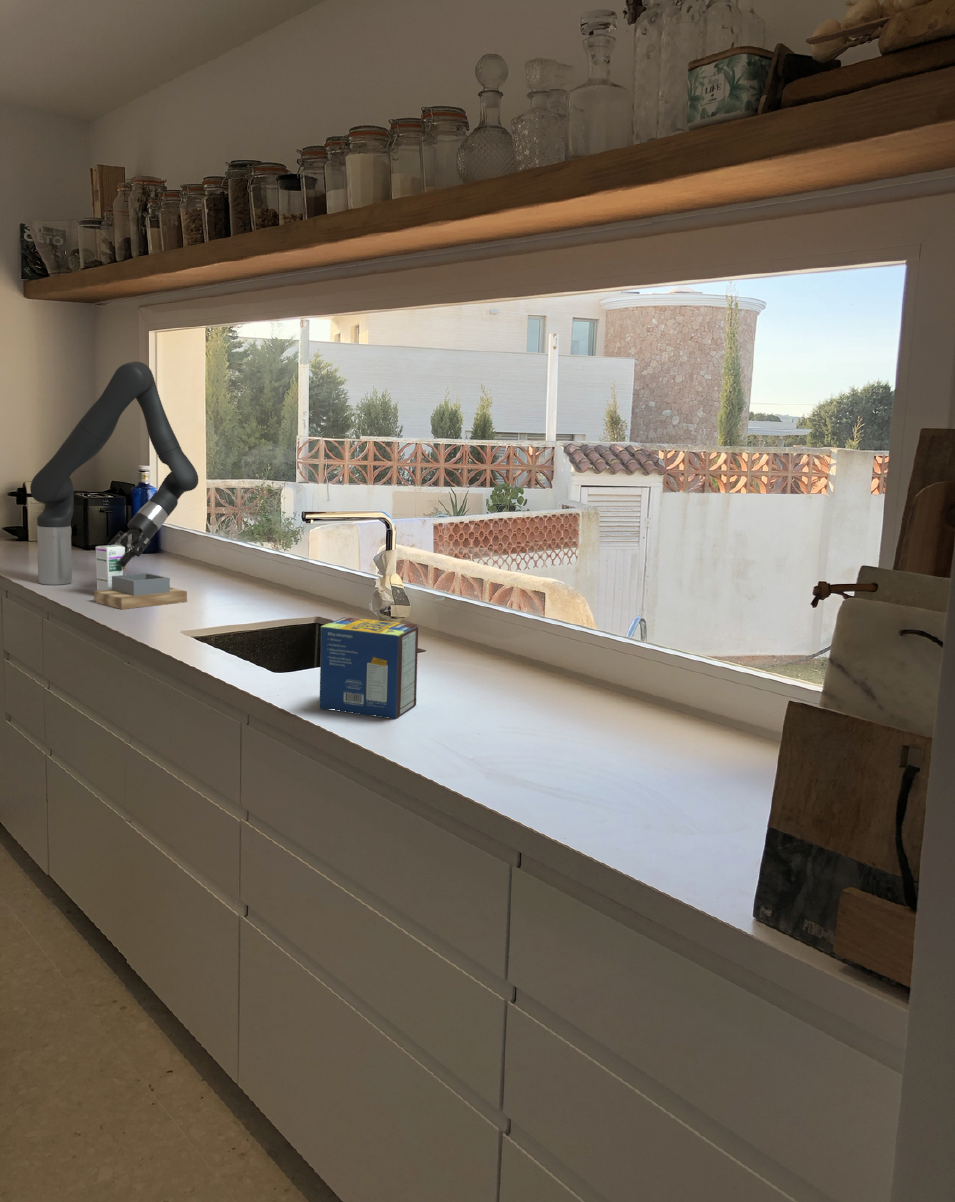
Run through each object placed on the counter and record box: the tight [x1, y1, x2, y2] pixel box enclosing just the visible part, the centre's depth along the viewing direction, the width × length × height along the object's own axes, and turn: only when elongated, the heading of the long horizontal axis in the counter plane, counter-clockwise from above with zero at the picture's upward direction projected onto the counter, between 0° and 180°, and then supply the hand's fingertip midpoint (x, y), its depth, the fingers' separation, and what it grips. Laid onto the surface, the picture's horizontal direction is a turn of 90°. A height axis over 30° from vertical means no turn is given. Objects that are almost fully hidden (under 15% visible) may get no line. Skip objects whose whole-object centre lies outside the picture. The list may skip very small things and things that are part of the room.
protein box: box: [318, 616, 419, 720], centre depth 184 cm, size 10×15×16 cm
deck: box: [93, 587, 188, 610], centre depth 278 cm, size 14×20×3 cm
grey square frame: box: [112, 572, 171, 596], centre depth 277 cm, size 11×11×4 cm
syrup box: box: [95, 545, 127, 591], centre depth 283 cm, size 6×6×14 cm
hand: (112, 563), depth 283 cm, fingers open, 8 cm apart
